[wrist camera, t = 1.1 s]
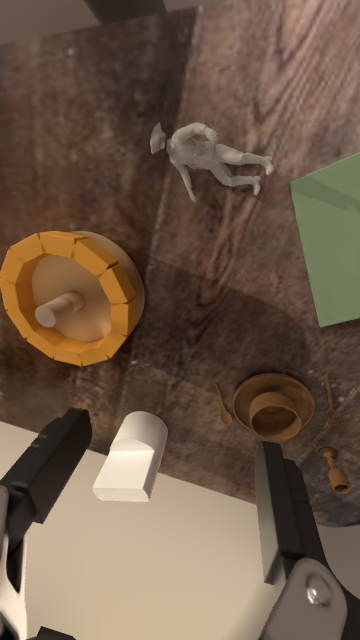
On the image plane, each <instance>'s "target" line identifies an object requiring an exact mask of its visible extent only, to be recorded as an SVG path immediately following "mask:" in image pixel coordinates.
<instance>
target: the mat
mask: <svg viewBox="0 0 360 640" xmlns="http://www.w3.org/2000/svg"><path fill="white" fill-rule="evenodd" d="M289 186H290V191H291V196H292V201H293V205H294V210H295V215H296V219H297V224H298V229H299V233H300V238H301V243H302V247H303V252H304V257H305V261H306V266H307V271H308V275H309V280H310V285H311V289H312V294H313V299H314V304H315V308H316V313H317V318H318V322H319V326H320V327H324V326H328V325H333V324H337V323H341V322H345V321H349V320H353V319H358V318H360V152H359V153H357V154H354V155H352V156H350V157H347V158H345V159H343V160H341V161H338V162H336V163H334V164H331V165H329V166H327V167H324V168H322V169H320V170H317V171H315V172H313V173H310V174H308V175H306V176H303V177H301V178H299V179H296V180H294V181H292V182H290V183H289Z"/></svg>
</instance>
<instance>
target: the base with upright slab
mask: <svg viewBox="0 0 360 640" xmlns="http://www.w3.org/2000/svg"><path fill="white" fill-rule="evenodd" d="M167 437H168V429H167V426H166V425H165V423H164V422H163V421H162V420H161V419H160V418H159V417H157V416H156V415H154V414H151V413H148V412H144V411H136V412H132V413H130V414H128V415H127V416H126V417H125V419H124V421H123V423H122V425H121V427H120V429H119V431H118V433H117V435H116V437H115V439H114V441H113V443H112V445H111V448H110V453H109V455H108V457H107V459H106V461H105V463H104V465H103V467H102V470H101V471H100V473H99V475H98V477H97V480H96V481H95V483H94V485H93V487H92V489H93V491H94V493H95V495H96V496H97V497H98V498H99V499H100V500H111V501H137V502H149V501H150V497H151V493H152V489H153V486H154V482H155V479H156V475H157V472H158V468H159V466H160V462H161V459H162V455H163V452H164V448H165V444H166V441H167Z"/></svg>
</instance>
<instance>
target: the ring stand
mask: <svg viewBox="0 0 360 640" xmlns="http://www.w3.org/2000/svg"><path fill="white" fill-rule="evenodd" d="M66 233H71V234H77V235H83V236H87V237H88V238H92V239H93V240H94V241H95V242H97V243H98V244H99V245H100V246H101V247H103V248H104V249H105V250H106V251H108V252H109V253H110V254H111V255H113V256H114V257H115V258H116V259H118V260H119V261H118V263H117V265H118V264H122V266H123V268H124V270H125V272H126V275H127V277H128V279H129V281H130V283H131V285H132V287H133V289H134V291H135V293H136V295H135V296H133V297H137V301H136V318H135V326H136V325H137V323H138V322H139V320H140V318H141V316H142V313H143V309H144V303H145V293H144V286H143V282H142V279H141V276H140V274H139V271H138V269H137V267H136V266H135V264H134V262H133V261H132V260H131V258H130V257H129V256H128V255H127V253H126V252H125V251H124V250H123V249H122V248H120V247H119V246H118V245H117V244H115V243H114V242H113V241H111V240H109V239H108V238H106V237H104V236H101V235H99V234H96V233H92V232H86V231H74V232H66ZM31 283H32V290H33V297H34V302H35V304H36V306H37V307H38V308H37V309H36V311H35V317H36V319H37V321H38V322H39V323H40V324H41V325H42V326H44V327H53V328H55V329H56V330H57V331H59V332H60V333H61V334H63V335H64V336H66V337H67V338H71V339H75V340H80V341H84V342H93V341H96V340H99V339H102V338H105V337H106V335H107V334H108V333H109V331H110V330H111V303H110V301H109V299H108V297H107V295H106V293H105V291H104V289H103V287H102V286H101V284H100V282H99V280H98V278H97V277H96V276H95V275H93V274H92V273H91V272H90V271H88V270H87V269H86V268H84V267H83V266H82V265H81V264H79V263H78V262H77V261H75V260H74V259H73V258H69V257H64V256H58V255H53V254H50V255H48V256H46V257H44V258H42V259H40V260H39V262H38V265H37V267H36V269H35V271H34V274H33V276H32V278H31Z"/></svg>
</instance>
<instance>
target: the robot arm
mask: <svg viewBox="0 0 360 640" xmlns="http://www.w3.org/2000/svg"><path fill="white" fill-rule="evenodd" d="M91 438H92V428H91V422H90V417H89V412H88V410H85V409H79V408H70V409H69V410H68V411H67V412H66V414H65V415H64V416H63V417H62V418H59V417H58V418H56V419H55V420H53V421H52V422H51V423H49V424H48V425H46V427H45V428H44V429H43V430H42V431H41V433H40V434H39V435H38V437H37V438H36V439H35V440H34V441H33V442H32V443H31V446H30V447H28V448H27V450H26V451H25V452H24V453H23V454H22V455H21V457H20V458H19V459H18V460H17V461H16V463H15V464H14V465H13V466H12V467H11V469H10V470H9V471H8V472H7V473H6V475H5V476H4V477H3V478H2V479H1V480H0V640H76V639H75V638H73V636H70V635H67V634H64V633H61V632H58V631H55V630H52V629H48V628H46V627H43V626H41V628H40V630H39V632H38V634H37V637H32V638H29V639H27V613H26V606H25V599H24V587H25V569H26V550H27V530H28V529H29V527H30V526H31V524H32V522H36V523H41V524H43V523H44V521H45V519H46V518H47V516H48V514H49V513H50V511H51V509H52V507H53V506H54V504H55V502H56V501H57V499H58V497H59V495H60V494H61V492H62V490H63V489H64V487H65V485H66V484H67V482H68V480H69V478H70V476H71V475H72V473H73V472H74V470H75V468H76V467H77V465H78V463H79V461H80V460H81V458H82V456H83V455H84V453H85V451H86V449H87V448H88V446H89V444H90V442H91ZM254 481H255V491H256V502H257V511H258V522H259V532H260V542H261V553H262V563H263V573H264V582H265V583H268V584H272V585H274V593H275V601H276V603H275V605H274V607H273V609H272V611H271V613H270V615H269V617H268V619H267V621H266V623H265V625H264V627H263V629H262V631H261V633H260V635H259V637H258V639H257V640H360V599H358V598H357V597H355V596H354V595H352V594H351V593H350V592H349V591H348V590H346V589H345V588H344V587H343V585H342V584H341V583H340V582H339V581H338V580H337V578H336V577H335V575H334V574H333V572H332V571H331V569H330V567H329V565H328V563H327V561H326V558H325V555H324V551H323V548H322V544H321V541H320V537H319V533H318V530H317V526H316V523H315V519H314V515H313V512H312V508H311V505H310V501H309V498H308V494H307V492H306V487H305V483H304V480H303V476H302V473H301V472H300V470H299V469H298V467H297V466H296V464H295V463H294V461H293V460H288V459H283V454H282V450H281V446H280V444H279V443H273V442H267V441H260V444H259V448H258V452H257V456H256V460H255V465H254Z"/></svg>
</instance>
